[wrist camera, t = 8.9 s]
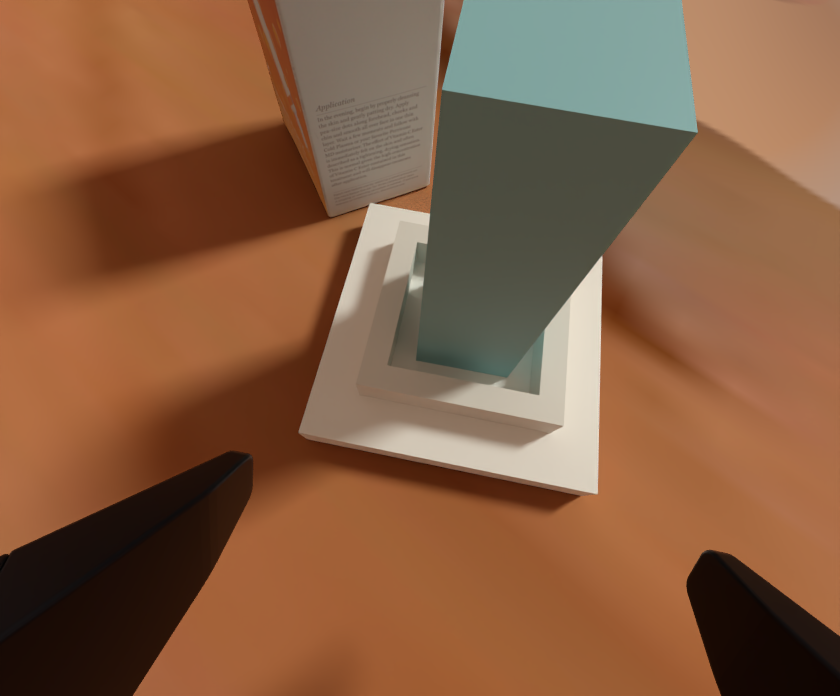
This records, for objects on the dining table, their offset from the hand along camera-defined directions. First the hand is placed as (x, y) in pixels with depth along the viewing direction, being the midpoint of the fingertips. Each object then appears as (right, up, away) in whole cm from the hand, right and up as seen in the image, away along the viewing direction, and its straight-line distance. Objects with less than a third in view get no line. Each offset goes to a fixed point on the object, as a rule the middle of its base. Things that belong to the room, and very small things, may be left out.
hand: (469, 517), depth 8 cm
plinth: (+1, +4, +12) cm, 12 cm away
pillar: (+1, +4, +10) cm, 11 cm away
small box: (-5, +15, +16) cm, 22 cm away
